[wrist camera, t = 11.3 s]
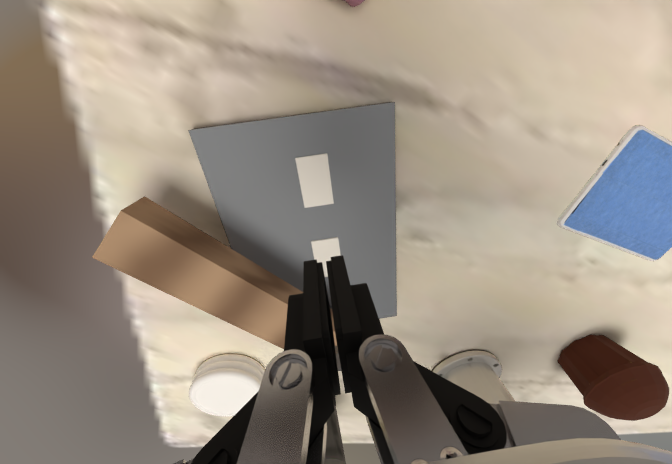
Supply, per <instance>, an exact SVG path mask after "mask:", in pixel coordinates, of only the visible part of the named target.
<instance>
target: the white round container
mask: <svg viewBox="0 0 672 464" xmlns="http://www.w3.org/2000/svg"><path fill="white" fill-rule="evenodd" d="M264 372H265V370H264V368H263V367H262V365H261V364H260V363H258V362H257V361H256V360H254V359H252V358H250V357H247V356H244V355H238V354H224V355H218V356H215V357H212V358H210V359H208V360H206V361H205V362H203V363H202V364H201V365H200V366H199V368H198V369H197V371H196V375H195V377H194V379H193V382H192V385H191V386H190V389H189V398H190V400H191V402H192V403H193V405H194V406H195V407H196V408H198V409H199V410H201V411H203V412H205V413H207V414H211V415H215V416H234V415H235V414H236V413H237V412H238V411H239V410H240V409H241V408H242V407H243V406H244V405H245V404H246V403H247V402H248V401H249V400H250V399H251V398H252V397H253V396H254V395H255V394H256V393H257V392H258V391H259V388H260V385H261V381H262V378H263V375H264Z"/></svg>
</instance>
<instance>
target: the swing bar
mask: <svg viewBox="0 0 672 464" xmlns="http://www.w3.org/2000/svg"><path fill="white" fill-rule="evenodd" d="M93 258H94V259H96V260H99V261H101V262H103V263H105V264H107V265H109V266H111V267H113V268H115V269H117V270H119V271H122V272H124V273H126V274H128V275H130V276H132V277H134V278H136V279H138V280H140V281H142V282H145V283H147V284H149V285H151V286H153V287H155V288H157V289H159V290H161V291H163V292H165V293H168V294H170V295H172V296H174V297H176V298H178V299H180V300H182V301H184V302H186V303H188V304H191V305H193V306H195V307H197V308H199V309H201V310H203V311H205V312H207V313H209V314H211V315H214V316H216V317H218V318H220V319H222V320H224V321H226V322H228V323H230V324H232V325H234V326H237V327H239V328H241V329H243V330H245V331H247V332H249V333H251V334H253V335H255V336H257V337H260V338H262V339H264V340H266V341H268V342H270V343H272V344H274V345H276V346H278V347H280V348H283V349H284V344H285V332H286V320H287V308H288V298H289V295H295V294H301V293H303V292H302V291H300V290H299V289H297V288H295V287H294V286H292V285H290V284H289V283H287V282H285V281H284V280H282V279H280V278H279V277H277V276H275V275H274V274H272V273H271V272H269V271H267V270H266V269H264V268H262V267H261V266H259V265H257V264H256V263H254V262H252V261H251V260H249V259H247V258H246V257H244V256H242V255H241V254H239V253H237V252H236V251H234V250H232V249H231V248H229V247H227V246H226V245H224V244H222V243H221V242H219V241H217V240H216V239H214V238H212V237H211V236H209V235H208V234H206V233H204V232H203V231H201V230H199V229H198V228H196V227H194V226H193V225H191V224H189V223H188V222H186V221H184V220H183V219H181V218H179V217H178V216H176V215H174V214H173V213H171V212H169V211H168V210H166V209H164V208H163V207H161V206H159V205H158V204H156V203H154V202H153V201H151V200H150V199H148V198H146V197H145V196H144V197H143V198H141V199H139V200H138V201H136V202H135V203H133V204H131V205H130V206H128V207H126V208H125V209H123V210H121V211H120V213H119V215H118V216H117V218H116V219H115V221H114V223H113V224H112V226H111V228H110V229H109V231H108V233H107V234H106V236H105V237H104V239H103V241H102V242H101V244H100V246H99V247H98V249H97V251H96V252H95V254H94V255H93ZM330 311H331V318H332V326H333V334H334V343H335V351H336V359H337V368H338V371H342V370H341V364H340V358H339V353H338V347H337V341H336V334H335V327H334V320H333V312H332V309H330Z"/></svg>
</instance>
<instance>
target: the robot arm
mask: <svg viewBox="0 0 672 464" xmlns="http://www.w3.org/2000/svg"><path fill="white" fill-rule="evenodd" d="M326 265H327V273H328V281H329V289H330V296H331V304H332V312H333V320H334V327H335V334H336V341H337V347H338V353H339V358H340V364H341V370H342V376H343V382H344V388H345V393H350V392H352V398H353V403H354V407H355V408H356V409H358V410H359V411H360V412H362V413H363V414H364V415H366V419H367V423H368V426H369V429H370V432H371V435H372V438H373V441H374V444H375V447H376V450H377V453H378V456H379V459H380V462H381V464H672V452H670V451H667V450H663V449H660V448H656V447H652V446H649V445H645V444H640V443H635V442H629V441H623V440H621V439H620V438H619V436H618V435H617V434H616V433H615V432H614V430H613V429H612V428H611V427H610V426H609V425H608V424H607V423H606V422H605V421H603V420H602V419H601V418H600V417H598V416H597V415H596V414H594V413H592V412H590V411H588V410H586V409H584V408H580V407H576V406H571V405H557V404H543V403H528V402H515V400H514V399H513V397H512V396H511V394H510V393H509V392H508V390H507V389H506V387H505V386H504V384H503V383H502V381H501V380H500V379H499V378H500V375H501V372H502V366H501V364H500V362H499V361H498V359H497V358H496V357H495V356H494V355H493V354H491V353H488V352H485V351H467V352H463V353H459V354H456V355H454V356H451V357H449V358H448V359H446V360H444V361H443V362H441V363H440V364H439V365H438V366H437V367H435V369H434V370H433V371H430V370H428V369H427V368H425V367H423V366H421V365H419V364H417V363H416V362H414V361H413V360H412V358H411V357H410V355H409V353H408V352H407V350H406V348H405V347H404V345H403V344H402V343H401V342H400V341H399V340H397V339H396V338H394V337H392V336H389V335H384V333H383V330H382V327H381V324H380V321H379V318H378V315H377V312H376V309H375V306H374V303H373V300H372V297H371V294H370V291H369V288H368V285H367V283H362V284H356V285H350V281H349V277H348V273H347V269H346V265H345V261H344V257H343V255H341V256H334V257H331V261H326ZM339 394H341V393H340V384H339V376H338V368H337V359H336V351H335V343H334V334H333V326H332V318H331V311H330V305H329V299H328V293H327V287H326V282H325V276H324V270H323V264H322V262H318V263H317V259H316V260H309V261H304V270H303V293H301V294H295V295H289V298H288V308H287V320H286V332H285V344H284V352H282V353H279V354H278V355H277V356H275V357H274V358H273V359H272V360H271V361H270V362H269V364H268V365H267V367H266V369H265V372H264V375H263V378H262V381H261V385H260V388H259V391H258V392H257V393H256V394H255V395H254V396H253V397H252V398H251V399H250V400H249V401H248V402H247V403H246V404H245V405H244V406H243V407H242V408H241V409H240V410H239V411H238V412H237V413H236V414H235V415H234V416H233V417H232V419H231V420H230V421H229V422H228V423H227V424H226V425H225V426H224V427H223V428H222V429H221V430H220V431H219V432H218V433H217V434H216V435H215V436H214V437H213V438H212V439H211V440H210V441H209V442H208V443H207V444H206V445H205V446H204V447H203V448H202V449H201V451H200V452H199V453H198V454H197V455H196V457H195V458H194V459H192V460H189V461H187V462H186V461H185V460H184V459H183V460H180V461H178V462H176V463H174V464H325V452H326V437H327V420H328V419H329V418H330V416H331V415H332V413H333V412H334V410H335V408H334V406H336V401H335V395H339Z"/></svg>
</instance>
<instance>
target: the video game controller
mask: <svg viewBox="0 0 672 464" xmlns="http://www.w3.org/2000/svg"><path fill="white" fill-rule="evenodd" d="M344 1H346V2H347V3H348V4H349V5H350V6H352V7H355V6H358V5H359V4H361V3H362V2H363V1H364V0H344Z"/></svg>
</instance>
